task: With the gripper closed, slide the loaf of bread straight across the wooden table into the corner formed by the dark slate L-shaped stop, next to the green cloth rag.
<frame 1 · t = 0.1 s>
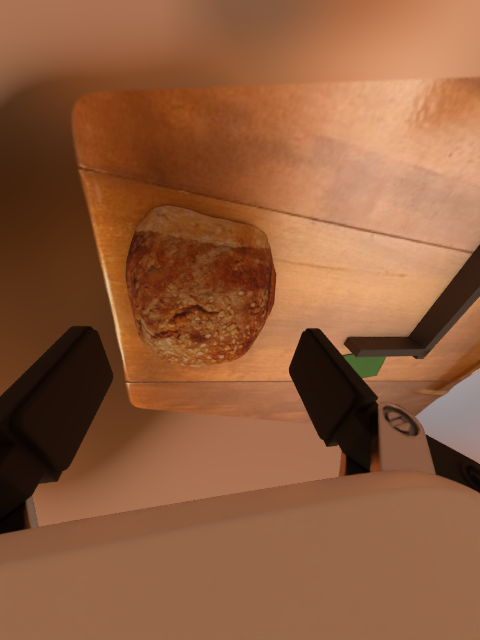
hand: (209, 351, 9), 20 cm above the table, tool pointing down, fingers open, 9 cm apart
corner stop: (426, 292, 36), on the table
bread: (206, 279, 28), on the table
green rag: (360, 365, 46), on the table
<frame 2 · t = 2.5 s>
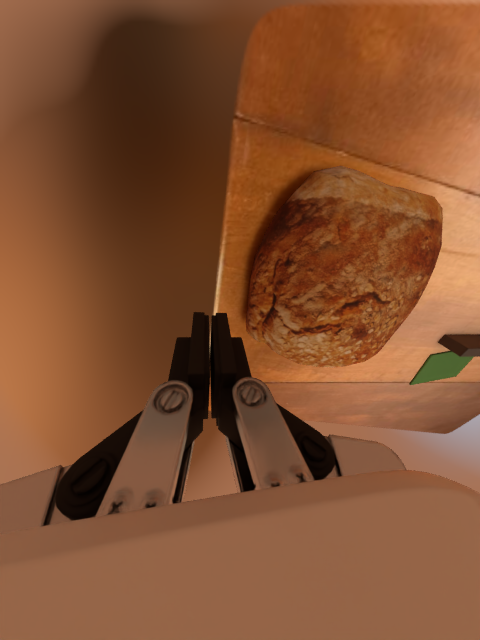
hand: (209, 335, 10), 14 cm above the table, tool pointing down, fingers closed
bread: (326, 265, 24), on the table
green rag: (443, 365, 42), on the table
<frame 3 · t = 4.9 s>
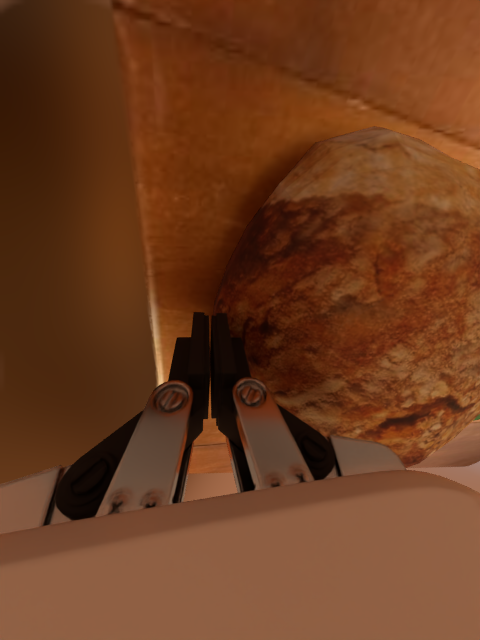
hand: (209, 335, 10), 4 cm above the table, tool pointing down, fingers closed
bread: (335, 302, 16), on the table, touching gripper
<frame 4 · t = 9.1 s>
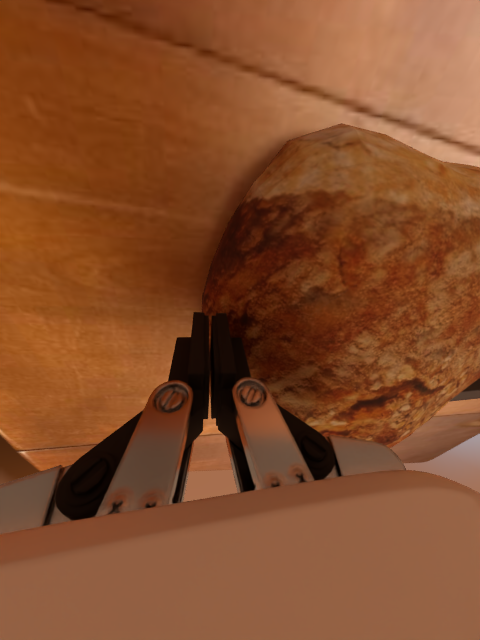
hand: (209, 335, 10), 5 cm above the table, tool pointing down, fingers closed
bread: (323, 294, 16), on the table, touching gripper
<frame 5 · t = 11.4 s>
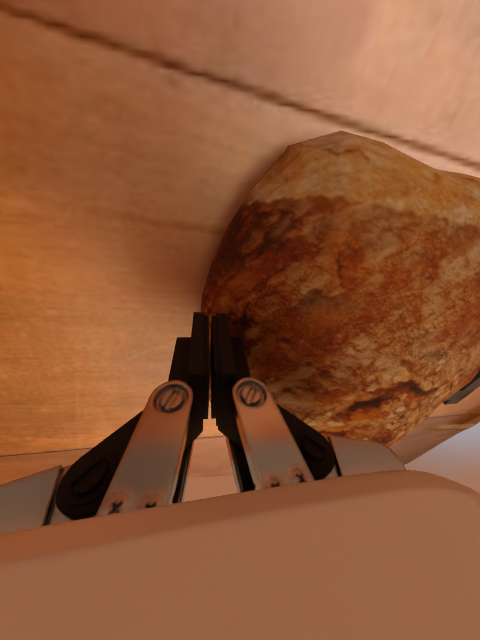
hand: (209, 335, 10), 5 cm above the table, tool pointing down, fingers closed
corner stop: (473, 290, 18), on the table
bread: (320, 296, 16), on the table, touching gripper
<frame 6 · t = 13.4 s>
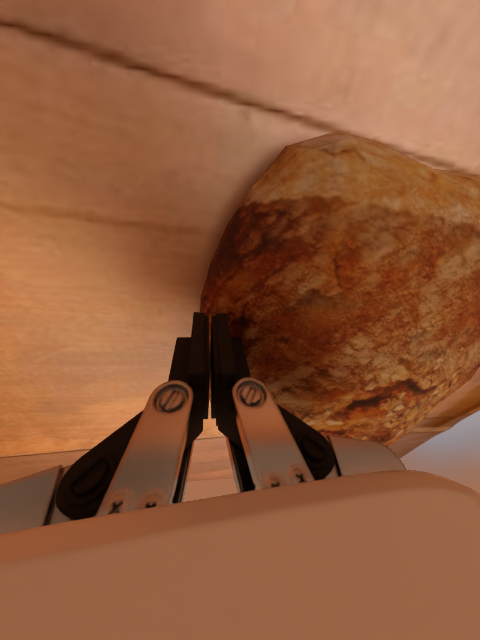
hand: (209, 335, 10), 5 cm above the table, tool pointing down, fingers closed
bread: (319, 296, 16), on the table, touching gripper
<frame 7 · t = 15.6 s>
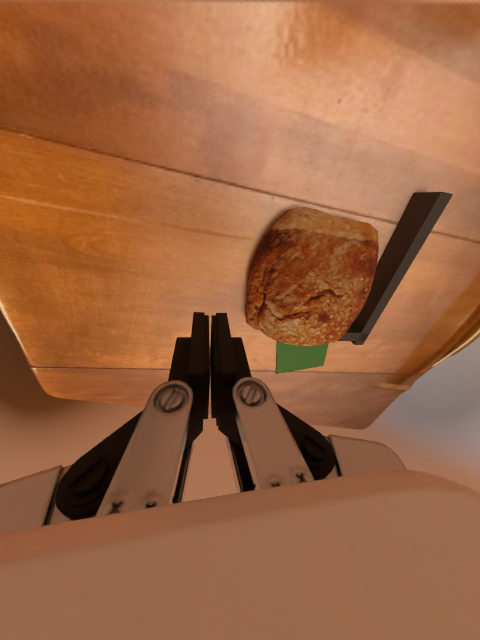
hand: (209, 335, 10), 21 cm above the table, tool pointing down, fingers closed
corner stop: (354, 269, 33), on the table
bread: (304, 271, 32), on the table
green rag: (301, 353, 43), on the table
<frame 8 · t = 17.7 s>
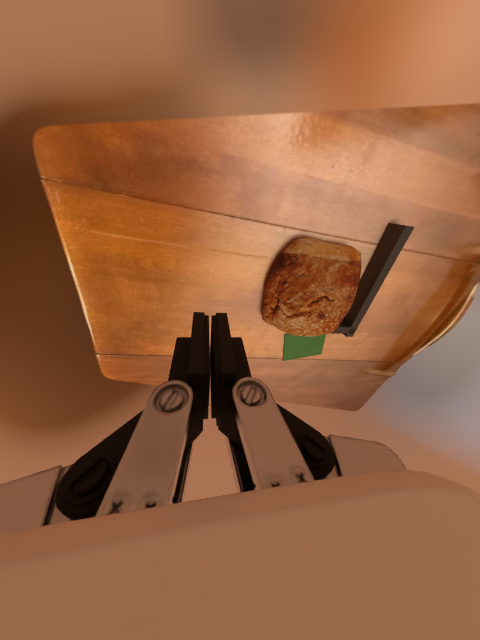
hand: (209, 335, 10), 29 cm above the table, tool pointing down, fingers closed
corner stop: (345, 278, 43), on the table
bread: (307, 280, 42), on the table
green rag: (303, 344, 53), on the table
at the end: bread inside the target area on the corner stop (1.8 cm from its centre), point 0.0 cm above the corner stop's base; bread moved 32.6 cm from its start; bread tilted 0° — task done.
